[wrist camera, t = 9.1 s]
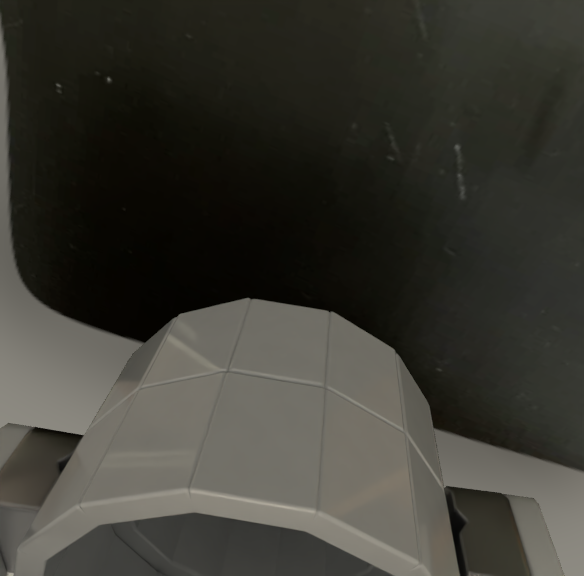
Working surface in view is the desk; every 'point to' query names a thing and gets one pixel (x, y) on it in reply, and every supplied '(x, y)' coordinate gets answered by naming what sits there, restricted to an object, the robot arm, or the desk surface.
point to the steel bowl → (252, 458)
